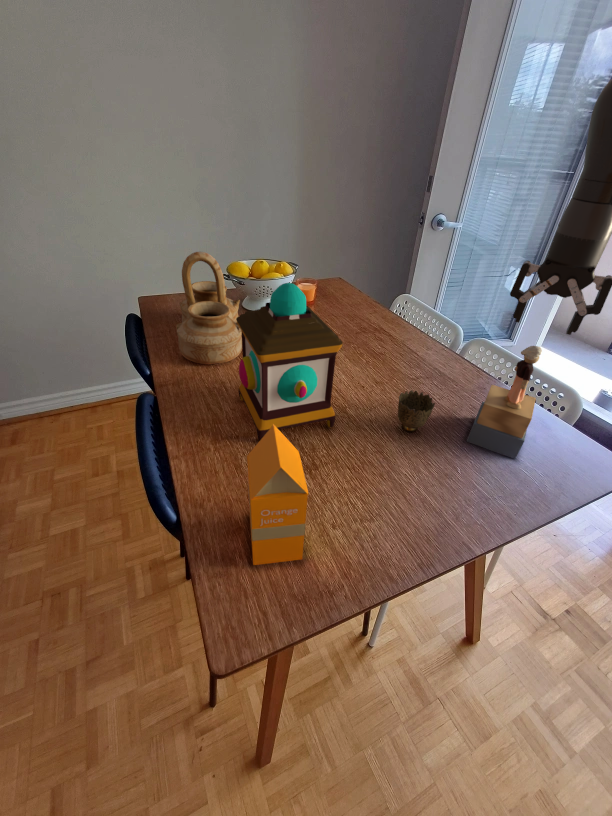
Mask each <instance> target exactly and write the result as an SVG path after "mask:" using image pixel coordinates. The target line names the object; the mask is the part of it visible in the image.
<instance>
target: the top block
mask: <svg viewBox="0 0 612 816" xmlns="http://www.w3.org/2000/svg"><path fill="white" fill-rule="evenodd" d="M509 391H510V389H507V388H505V387H501V386H498V385H496V384H495V385H494V384H491V385H490V388H489V390H488V392H487V395H486V398H485V400H484V402H485V403H484V405H483V408H482V410H481V413H480V415H479V418H478V420H477V423H478V424H481V425H484V426H487V427H490V428H493V429H496V430H498V431H501V432H504V433H507V434H510V435H513V436H516V437H519V438H523V436H524V434H525V432H526V433H527V431H528V427H529V425H530V424H531V421H532V420H533V414H534V410H535V405H536V400H537V397H535V396H531V395H529V394H526V393H525V394H524V398H523V400H522V401H520V402H518V403H520V405H521V408H520V409H515V408H512V407H509V406H507V405H506V403H507V402H508V401H506V400H505V399H504V397H505V396H507V395H508V393H509ZM526 430H527V431H526Z"/></svg>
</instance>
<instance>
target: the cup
mask: <svg viewBox="0 0 612 816" xmlns="http://www.w3.org/2000/svg"><path fill="white" fill-rule="evenodd" d="M397 404H398V407H397V417H398V420H399V422H400V424H401V428H402V430H403V431H404V432H406V433H409V434H410V433H411V434H412V433H416V432H417V431H418V430H419V428H421V427H424V426H425V424H426V423H427V422H428V420H429V417H430V416H431V414H432V412H433V409H434V408H435V405H436V403H435V402H433V397H430V394H429V393H428V394H424V392H423V391H421V392H420V393H418V391H417V390H414V391H413V390H409V392H408V390H406V391H405V392H400V394H399V396H398V403H397Z"/></svg>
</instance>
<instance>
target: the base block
mask: <svg viewBox="0 0 612 816" xmlns="http://www.w3.org/2000/svg"><path fill="white" fill-rule="evenodd" d="M484 403H485V401H482V402H481V404H480V405H479V406H480V407H479V409H478V411H477V413H476V417H475V419H474V421H473V424H472V426H471V429H470V431H469V434H468V437H467V440H466V442H467V443H470V444H473V445H475V446H478V447H481V448H483V449H486V450H489V451H491V452H495V453H497V454H500V455H502V456H505V457H508V458H510V459H513V460H516V459H517V457H518V455H519V453H520V451H521V449H522V448H523V445H524V443H525V439H526V436H527V431H528V429H527V430H526V432H525V434H524V436H523V438H519V437H516V436H513V435H510V434H507V433H504V432H501V431H498V430H496V429H493V428H490V427H487V426H484V425H481V424H478V423H477V420H478V418H479V415H480V413H481V410H482V408H483V405H484Z"/></svg>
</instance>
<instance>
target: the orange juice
mask: <svg viewBox="0 0 612 816" xmlns="http://www.w3.org/2000/svg"><path fill="white" fill-rule="evenodd" d="M301 459H302V458H301V455H300V451H299V450H298V449H297V448H296V447H295V446H294V445H293V443H292V442H290V440H289V439H288V438H287V437H286V436H285V435H284V434H283V432H282V431H281V430H278V428H277V427H276V426H275V425H274V424H273V426H272V427H271V428H270V430H269V431H268V432H267V433H266V434H265V435H264V437H263V438H262V439H261V440H260V441H259V440H258V443H257V444H256V445H255V446H254V447H253V448H252V449H251V451H249V452H248V454H246V463H247V491H248V507H249V527H250V540H251V554H252V565H253V566H259V565H268V564H275V563H283V562H284V563H285V562H292V561H301V560H303V557H304V545H305V544H304V543H305V534H306V526H307V524H306V522H307V511H308V499H309V495H310V494H309V490H308V489H309V488H308V485H307V480H306V476H305V471H304V468H303V463H302V460H301Z"/></svg>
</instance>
